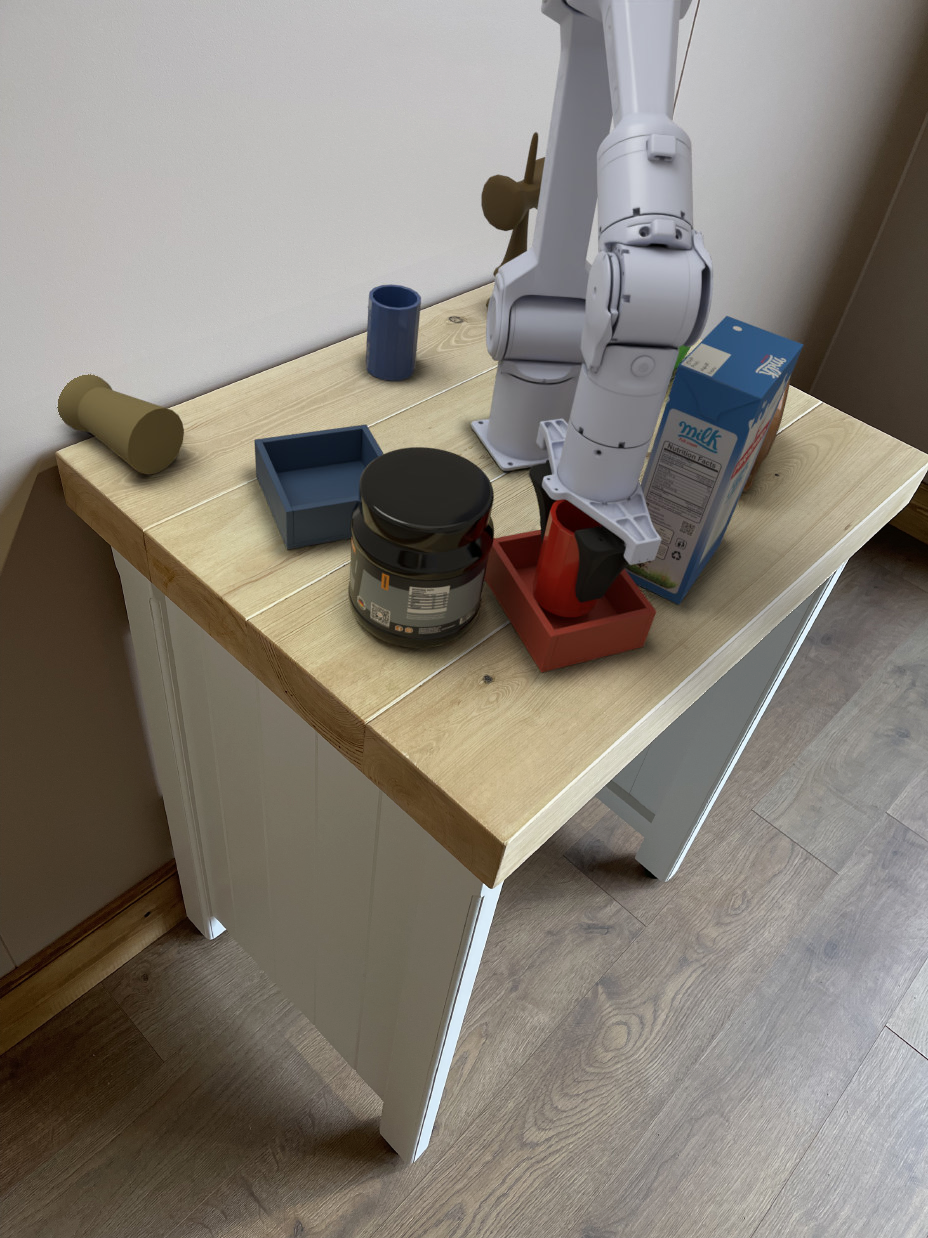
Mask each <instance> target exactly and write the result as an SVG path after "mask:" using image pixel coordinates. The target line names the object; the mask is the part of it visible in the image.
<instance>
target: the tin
mask: <svg viewBox="0 0 928 1238" xmlns="http://www.w3.org/2000/svg"><path fill="white" fill-rule="evenodd" d="M790 384H791V382H790V380H789V381H788V383H787V386H786V388H785V390H784V393H783V395H782V398H781V400H780V402H779V405H778V407H777V410H776V412H775V414H774V417H773V419H772V421H771V424H770V426H769V429H768V431H767V433H766V436H765V438H764V441H763V443H762V445H761V448H760V450H759V453H758V455H757V457H756V460H755V462H754V465H753V467H752V469H751V472H750V474H749V477H748V479H747V481H746V484H745V486H744V489H743V491H742V492H746V493H747V492H748V491H749V490H750V489H751V488H752V486H753V485H754V481H755V478H756V476H757V473H758V471H759V469H760V467H761V466H762V465H763V462H764V461H766V458H767V457H768V455H769V454H770V452H771V449H772V447H773V444H774V442H775V440H776V438H777V434H778V432H779V429H780V427H781V423H782V419H783V417H784V412H785V407H786V404H787V399H788V395H789V389H790Z"/></svg>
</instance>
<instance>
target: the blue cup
mask: <svg viewBox="0 0 928 1238" xmlns="http://www.w3.org/2000/svg"><path fill="white" fill-rule="evenodd" d="M367 302H368V304H367V305H368V306H367V327H366V345H365V346H366V348H365V349H366V351H365V369H366V371H367V373H369V374H370V375H371V376H373V377H375V378H376V379H379V380H382V381H389V382H398V381H399V382H400V381H404V380H407V379H409V378H411V377H412V376H413V375H414V373H415V371H416V361H417V351H418V339H419V327H420V316H421V306H422V296H421V295H420V294H419V292H418V291H416V290H414V289H412V288H410V287H408V286H404V285H401V284H381V285H378V286H375V287H373V288H372V289H371V290H370V291H369V292H368V301H367Z"/></svg>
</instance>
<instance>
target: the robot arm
mask: <svg viewBox="0 0 928 1238" xmlns="http://www.w3.org/2000/svg"><path fill="white" fill-rule="evenodd" d="M692 1H693V0H541V6H540V11H541V13H542V14H543V15H544V16H546V17H547V18H549V19H551V20H552V21H553V22H555V23H557V24H558V25H559V37H560V39H559V40H560V41H559V42H560V55H559V63H558V69H557V74H556V82H555V89H554V96H553V103H552V108H551V116H550V122H549V130H548V136H547V143H546V150H545V155H544V157H545V162H544V169H543V176H542V183H541V189H540V196H539V203H538V209H536V218H535V224H534V230H533V238H532V244H531V245H532V246H531V247H529V249H527V251H526V252H524V253H523V254H521V255H519V256H518V257H516V258H514V259H513V260H511V261H509V262H507V263H506V264H504V265H503V266H501V267H500V268H499V269H498V273H497V274H496V276H494V282H493V289H492V292H491V295H490V296H489V298H490V301H489V306H488V308H487V314H486V325H485V342H486V344H485V345H486V350H487V353H488V354H489V356H490V357H491V359H492V360H493V361H494V362H497V367H496V373H495V378H494V385H493V390H492V398H491V404H490V410H489V416H488V418H485V419H477V420H473V421H471V422H470V427H471V429H472V430H473V432H474V433H475V434H476V436H477V437H478V439H479V440H480V442H481V443H482V444H483V446H484V448H485V449H486V451H487V452H488V453H489V454H490V456H491V457H492V459H493V460H494V462H495V463H496V464H497V466H498V467H499V469H500V470H501V471H504V472H509V471H515V470H516V471H517V470H521V469H528V468H529V472H528V476H529V479H530V481H531V483H532V486H533V489H534V492H535V496H536V500H537V505H538V513H539V526H540V529H541V542H542V543H543V539H544V535H545V531H546V526H547V522H548V518H549V514H550V510H551V507H552V505H553V503H554V502H555V501H557V500H562V499H565V500H568V501H569V502H571V503H572V504H573V505H575V506H576V507H578V508H579V509H580V510H582V511H583V512H585V513H586V514H587V515H589V516H590V517H592V518H593V519H594V520H596V521H597V522H599V523H600V524H602V526H601V527H599V526H597V527H592V528H587V529H582V530H577V531H575V534H574V536H575V538H576V541H577V545H578V550H579V570H578V576H577V581H576V587H575V593H576V598H577V599H578V601H579V602H581V603H582V602H587V601H591V600H595V599H600V598H602V597H603V595H604V594H605V593H606V591H607V590H608V588H609V587H610V585H611V584H612V583H613V581H614V580H615V579H616V578H617V576H618V575H619V574H620V573H621V572H622V571H623V570H624V569H625V568H626V567H627V566H628V565H629V564H630V565H633V564H639V563H644V562H647V561H652V560H655V557H656V554H657V551H658V548H659V546H660V543H661V540H662V539H661V537H660V536H659V535H658V533H657V532H656V530H655V528H654V526H653V524H652V521H651V518H650V515H649V512H648V508H647V505H646V502H645V498H644V495H643V492H642V488H641V482H640V478H641V474H642V471H643V468H644V465H645V461H646V458H647V455H648V453H649V452H648V451H649V449H650V446H651V442H652V439H653V436H654V433H655V430H656V427H657V423H658V420H659V417H660V414H661V411H662V409H663V405H664V402H665V398H666V395H667V391H668V389H669V386H670V381H671V379H672V376H673V372H674V370H675V369H674V366H675V363H676V360H677V357H678V353H679V348H678V347H681V346H682V345H684V346H685V347H691V348H692V347H693V346H694V345H696V344H697V343H698V341H699V340H700V338H701V336H702V335H703V333H704V331H705V328H706V326H707V322H708V319H709V315H710V311H711V307H712V301H713V295H714V293H713V292H714V265H713V259H712V256H711V253H710V252H709V250H708V249H707V248H706V246H705V237H704V234H703V232H702V231H701V230H696V229H694V199H693V197H694V196H693V157H692V156H693V155H692V154H693V153H692V147H693V145H692V141H691V138H690V136H689V134H688V133H687V132H686V131H685V130H684V129H683V128H682V127H681V126H680V125H678V123H677V124H676V123H675V122H674V120H673V119H674V105H675V92H676V91H675V90H676V77H677V76H676V75H677V63H678V62H677V61H678V44H679V33H680V21H681V20H683V19H684V18H685V16H686V14H687V13H688V11H689V9H690V7H691V4H692ZM612 122H613V129H612V130H611V128H612ZM596 208H597V254H596V255H595V257H594V259H593V262H592V264H591V263H590V262H589V261H588V260H587V256H588V250H589V246H590V241H591V240H590V239H591V236H592V235H591V234H592V230H593V229H592V228H593V224H594V220H595V219H594V218H595V213H596ZM673 369H674V370H673Z"/></svg>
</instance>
